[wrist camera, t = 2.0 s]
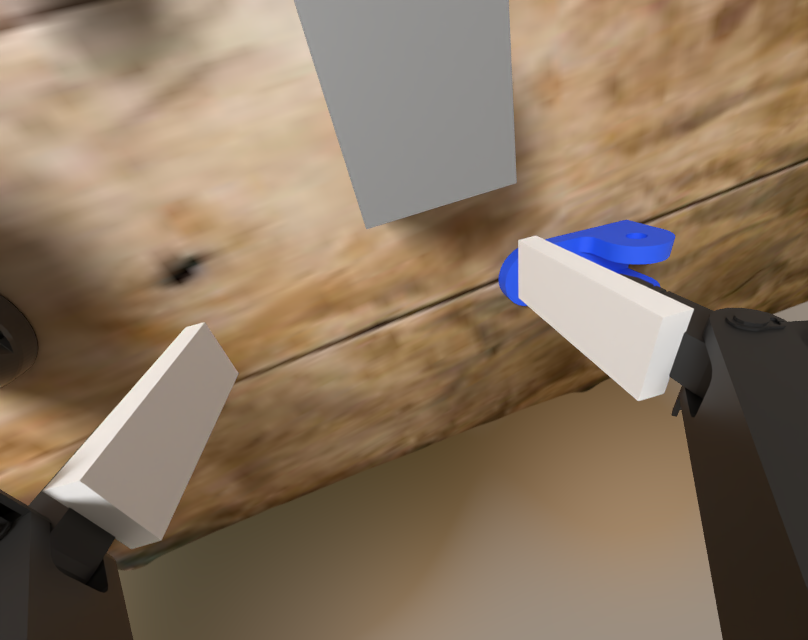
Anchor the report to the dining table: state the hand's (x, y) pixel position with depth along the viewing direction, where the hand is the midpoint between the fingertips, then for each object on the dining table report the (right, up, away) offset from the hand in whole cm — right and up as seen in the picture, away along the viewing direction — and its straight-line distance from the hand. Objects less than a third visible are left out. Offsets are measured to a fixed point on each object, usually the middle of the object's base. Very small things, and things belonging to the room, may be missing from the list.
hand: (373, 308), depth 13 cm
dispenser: (0, +19, +17) cm, 26 cm away
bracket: (+23, +7, +29) cm, 38 cm away
